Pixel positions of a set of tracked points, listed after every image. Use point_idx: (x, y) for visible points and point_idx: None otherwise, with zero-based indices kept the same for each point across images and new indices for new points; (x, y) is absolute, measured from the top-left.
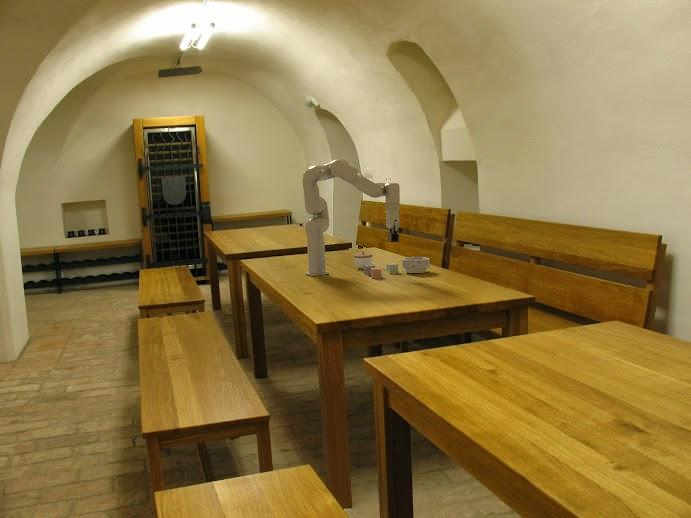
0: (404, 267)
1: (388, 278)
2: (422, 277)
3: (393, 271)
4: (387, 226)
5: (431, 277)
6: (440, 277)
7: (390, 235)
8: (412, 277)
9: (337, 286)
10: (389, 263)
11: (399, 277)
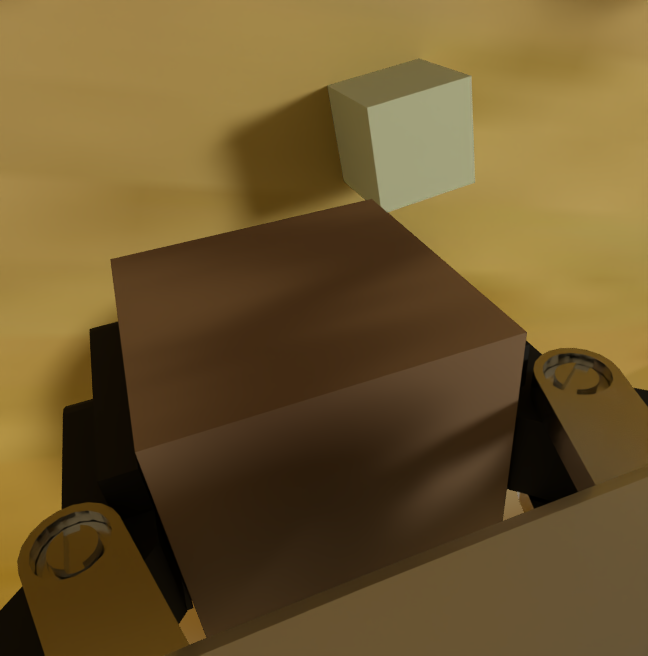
0: None
1: (6, 26)
2: (53, 390)
3: (343, 134)
4: (621, 532)
5: (47, 456)
6: (42, 514)
7: (130, 388)
8: (61, 306)
9: None
10: (468, 117)
11: (73, 174)
